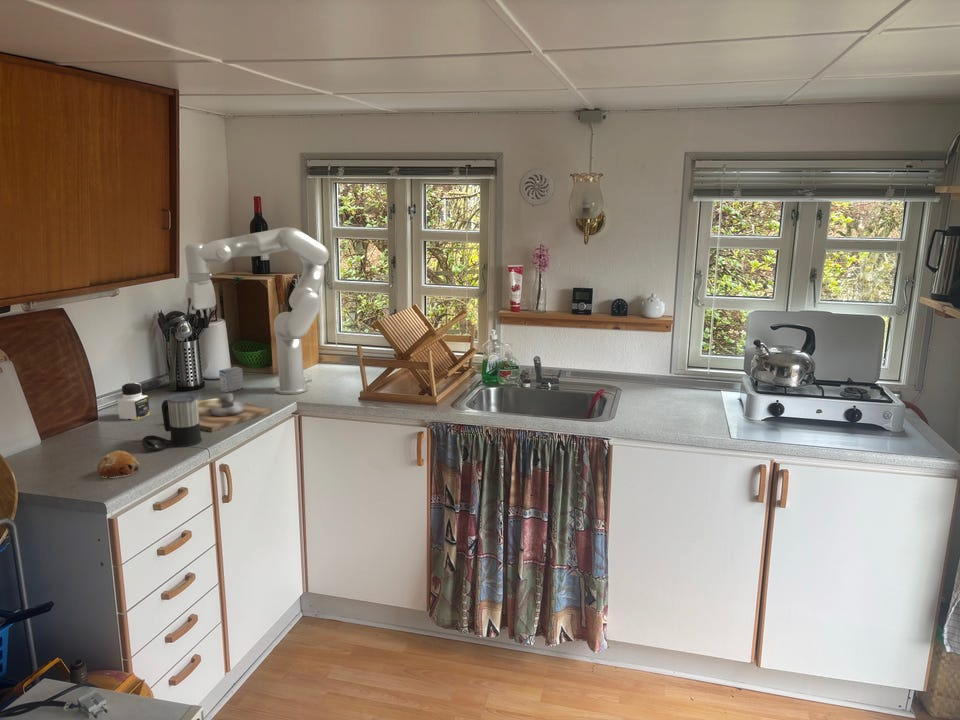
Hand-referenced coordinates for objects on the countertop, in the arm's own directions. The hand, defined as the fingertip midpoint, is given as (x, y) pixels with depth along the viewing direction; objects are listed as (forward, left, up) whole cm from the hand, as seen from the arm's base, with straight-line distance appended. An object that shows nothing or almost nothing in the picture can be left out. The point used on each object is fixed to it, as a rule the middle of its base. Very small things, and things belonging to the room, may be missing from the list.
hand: (204, 327), depth 267 cm
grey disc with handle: (+12, +18, -27) cm, 35 cm away
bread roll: (+61, +37, -29) cm, 77 cm away
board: (+11, +19, -29) cm, 36 cm away
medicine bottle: (+26, -8, -29) cm, 40 cm away
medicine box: (-17, -8, -29) cm, 35 cm away
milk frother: (+39, +30, -29) cm, 57 cm away
